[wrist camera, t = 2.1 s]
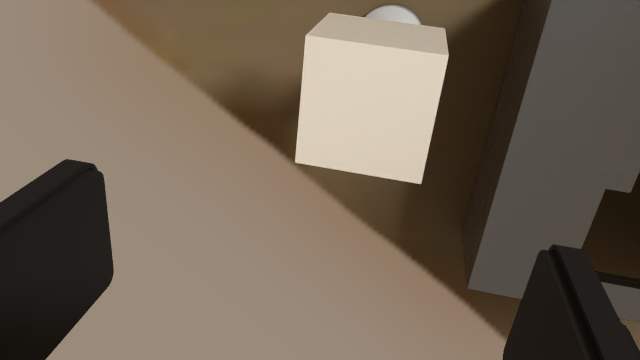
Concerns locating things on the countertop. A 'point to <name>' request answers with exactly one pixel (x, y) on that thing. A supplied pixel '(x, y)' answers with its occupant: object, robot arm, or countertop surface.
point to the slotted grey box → (557, 143)
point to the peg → (371, 93)
